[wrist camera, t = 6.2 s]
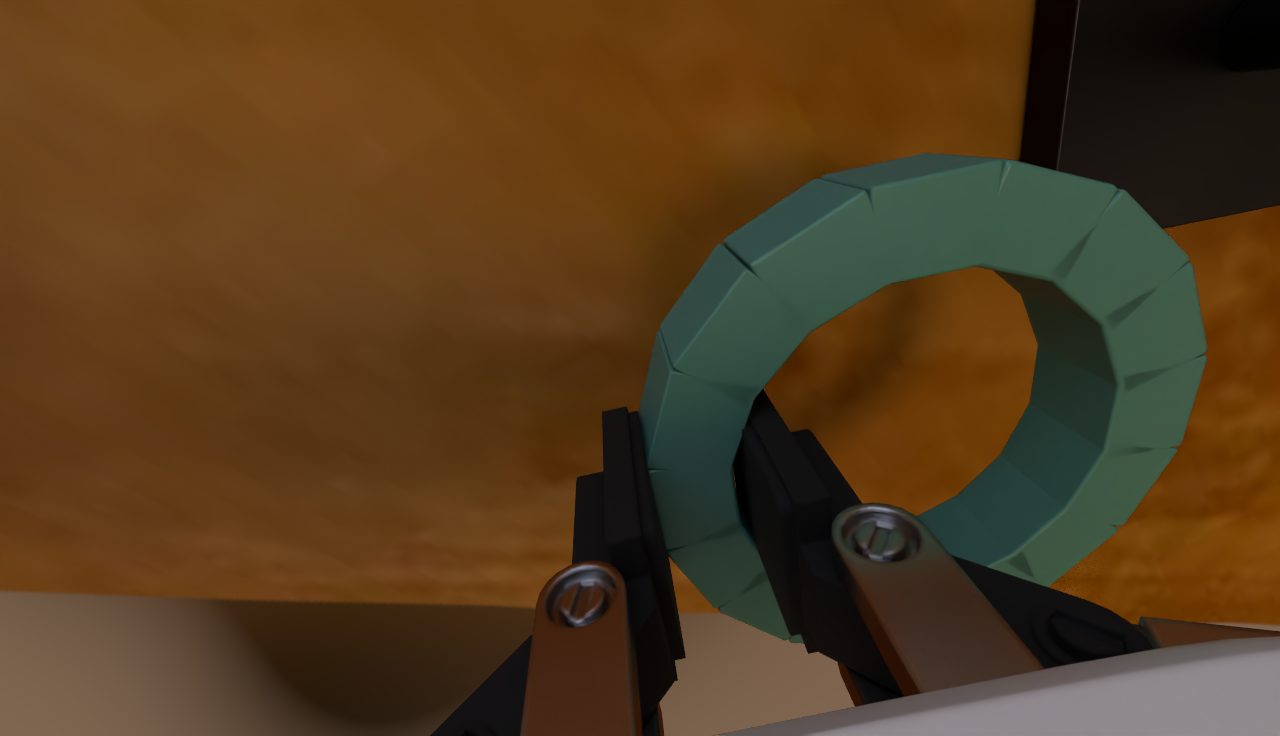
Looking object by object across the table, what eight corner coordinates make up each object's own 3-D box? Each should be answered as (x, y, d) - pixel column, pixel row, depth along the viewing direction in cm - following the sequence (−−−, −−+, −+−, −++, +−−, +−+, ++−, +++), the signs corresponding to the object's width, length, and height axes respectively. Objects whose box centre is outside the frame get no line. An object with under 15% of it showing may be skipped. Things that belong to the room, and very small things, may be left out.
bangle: (681, 612, 14) (694, 685, 12) (593, 223, 10) (592, 245, 8) (1066, 534, 14) (1137, 596, 12) (1156, 103, 9) (1289, 98, 8)
